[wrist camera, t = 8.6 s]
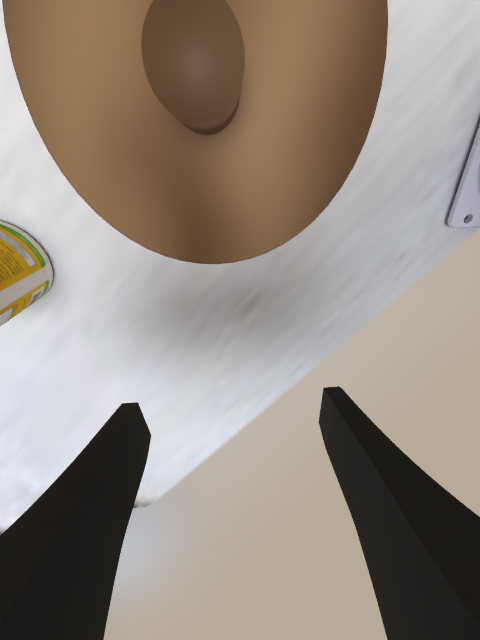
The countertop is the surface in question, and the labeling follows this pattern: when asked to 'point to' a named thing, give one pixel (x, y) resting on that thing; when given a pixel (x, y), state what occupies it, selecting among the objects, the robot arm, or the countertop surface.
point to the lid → (202, 111)
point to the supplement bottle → (21, 271)
